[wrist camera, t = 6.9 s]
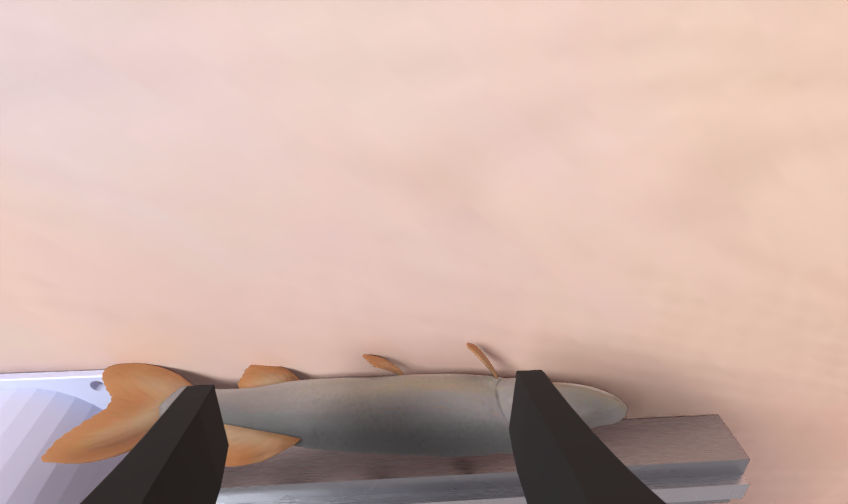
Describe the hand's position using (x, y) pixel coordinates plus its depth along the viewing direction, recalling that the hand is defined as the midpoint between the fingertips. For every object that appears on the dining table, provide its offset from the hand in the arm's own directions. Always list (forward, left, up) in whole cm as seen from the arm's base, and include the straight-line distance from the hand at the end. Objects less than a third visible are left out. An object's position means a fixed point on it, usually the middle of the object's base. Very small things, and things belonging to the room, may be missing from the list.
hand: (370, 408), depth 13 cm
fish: (0, -6, -8) cm, 10 cm away
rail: (+4, -11, -8) cm, 14 cm away
